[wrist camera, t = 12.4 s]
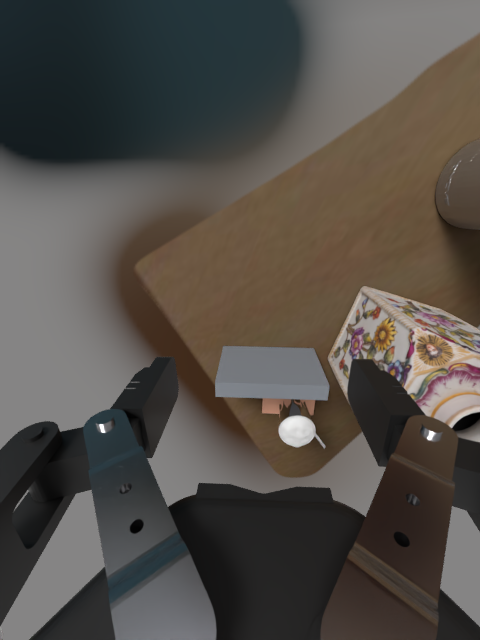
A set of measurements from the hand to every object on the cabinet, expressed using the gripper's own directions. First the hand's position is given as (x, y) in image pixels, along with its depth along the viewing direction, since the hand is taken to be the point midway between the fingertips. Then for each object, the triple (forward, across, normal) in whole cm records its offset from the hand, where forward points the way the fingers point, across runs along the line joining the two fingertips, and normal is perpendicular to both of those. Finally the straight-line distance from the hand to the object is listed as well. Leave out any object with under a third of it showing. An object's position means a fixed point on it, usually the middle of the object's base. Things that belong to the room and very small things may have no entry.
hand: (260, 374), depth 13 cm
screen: (+25, -1, +13) cm, 28 cm away
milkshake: (+24, -5, +19) cm, 31 cm away
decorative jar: (+25, -17, +10) cm, 32 cm away
